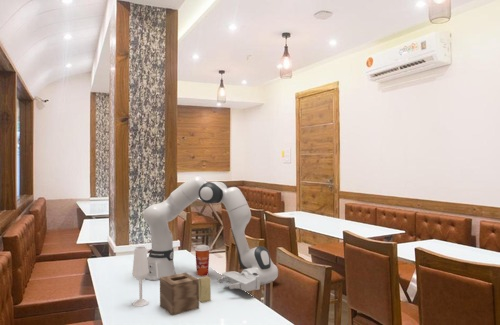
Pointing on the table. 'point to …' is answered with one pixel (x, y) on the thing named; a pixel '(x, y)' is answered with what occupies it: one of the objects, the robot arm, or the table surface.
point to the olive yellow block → (204, 289)
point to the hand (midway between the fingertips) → (224, 283)
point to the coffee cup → (202, 259)
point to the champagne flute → (140, 271)
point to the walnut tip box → (179, 293)
